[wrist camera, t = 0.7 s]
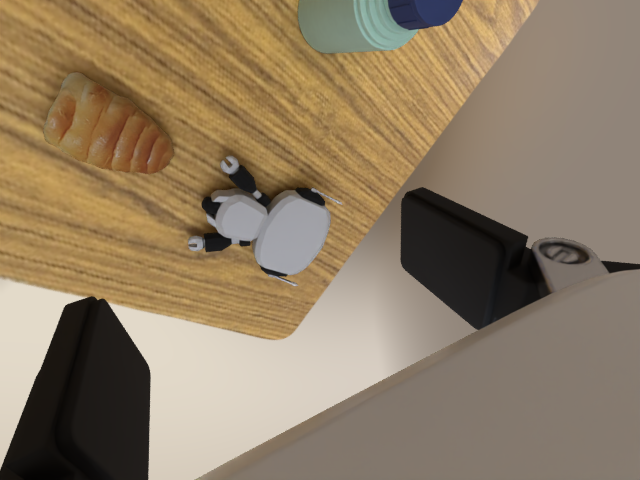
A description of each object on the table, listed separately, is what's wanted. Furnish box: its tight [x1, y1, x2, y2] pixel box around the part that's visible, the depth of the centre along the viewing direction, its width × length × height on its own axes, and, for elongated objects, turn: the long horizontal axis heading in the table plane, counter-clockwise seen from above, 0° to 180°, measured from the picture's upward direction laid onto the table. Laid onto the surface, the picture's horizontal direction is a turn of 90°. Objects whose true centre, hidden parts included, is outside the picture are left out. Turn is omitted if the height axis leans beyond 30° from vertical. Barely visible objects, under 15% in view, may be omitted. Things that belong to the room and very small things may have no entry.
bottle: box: [298, 0, 419, 53], centre depth 26 cm, size 6×6×16 cm
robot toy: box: [188, 156, 342, 286], centre depth 37 cm, size 12×4×15 cm
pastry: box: [43, 72, 174, 174], centre depth 27 cm, size 9×7×4 cm
